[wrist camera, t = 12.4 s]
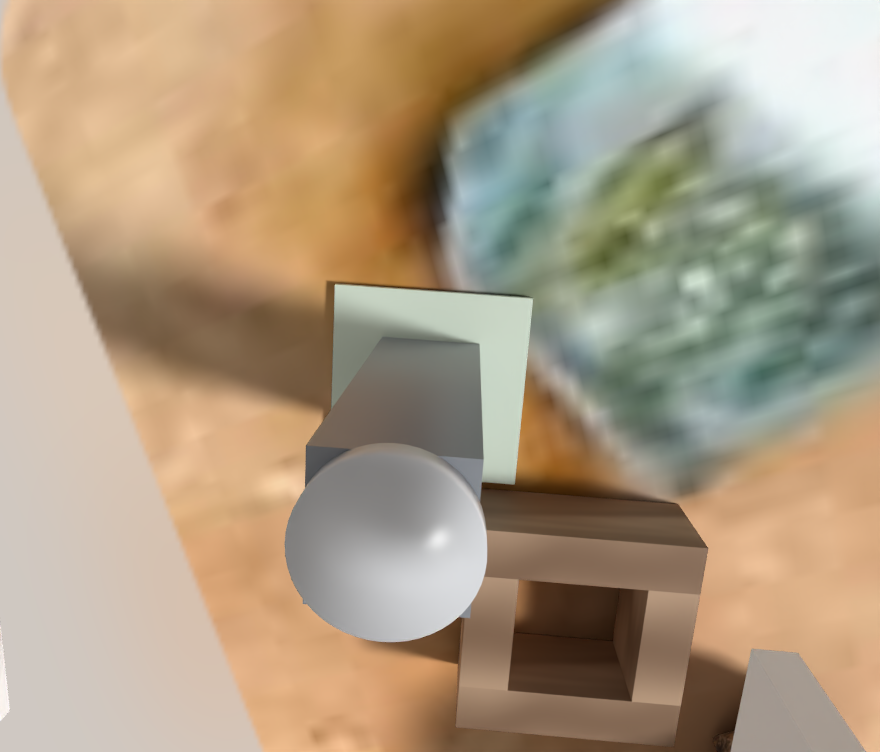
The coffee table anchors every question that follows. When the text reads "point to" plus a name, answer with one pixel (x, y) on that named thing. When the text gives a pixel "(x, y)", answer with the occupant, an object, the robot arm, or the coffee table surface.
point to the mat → (451, 320)
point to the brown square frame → (575, 659)
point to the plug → (395, 496)
